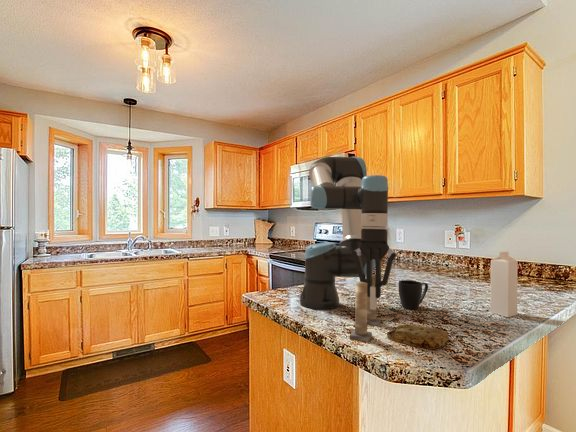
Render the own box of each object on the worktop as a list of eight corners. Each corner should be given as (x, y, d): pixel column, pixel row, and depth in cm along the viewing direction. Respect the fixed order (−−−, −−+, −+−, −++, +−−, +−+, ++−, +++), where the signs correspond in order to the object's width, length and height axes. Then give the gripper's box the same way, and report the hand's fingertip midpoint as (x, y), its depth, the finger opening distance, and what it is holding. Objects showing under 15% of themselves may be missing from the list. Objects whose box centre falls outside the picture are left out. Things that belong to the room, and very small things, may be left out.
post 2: (361, 323, 97) (361, 275, 97) (364, 319, 102) (365, 273, 102) (377, 326, 95) (378, 277, 95) (380, 321, 100) (380, 274, 100)
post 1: (349, 338, 85) (350, 283, 85) (354, 332, 89) (354, 280, 89) (368, 342, 82) (368, 285, 83) (371, 335, 87) (372, 282, 87)
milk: (517, 315, 109) (518, 252, 109) (508, 317, 106) (509, 252, 106) (498, 310, 114) (499, 250, 114) (489, 312, 111) (490, 251, 111)
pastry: (467, 351, 78) (467, 339, 78) (401, 353, 77) (401, 341, 77) (430, 327, 96) (430, 318, 96) (375, 328, 94) (375, 318, 94)
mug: (435, 309, 114) (435, 283, 114) (407, 311, 111) (408, 285, 111) (419, 303, 122) (420, 279, 122) (393, 305, 119) (394, 280, 119)
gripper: (349, 227, 91) (348, 308, 91) (395, 228, 85) (394, 315, 85) (355, 227, 98) (354, 302, 97) (399, 228, 92) (398, 308, 91)
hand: (373, 308), depth 91 cm, fingers closed
